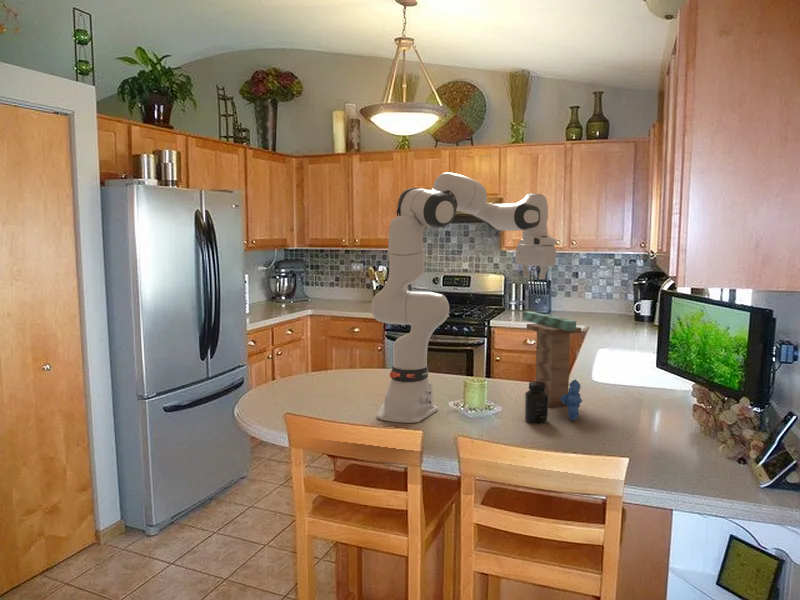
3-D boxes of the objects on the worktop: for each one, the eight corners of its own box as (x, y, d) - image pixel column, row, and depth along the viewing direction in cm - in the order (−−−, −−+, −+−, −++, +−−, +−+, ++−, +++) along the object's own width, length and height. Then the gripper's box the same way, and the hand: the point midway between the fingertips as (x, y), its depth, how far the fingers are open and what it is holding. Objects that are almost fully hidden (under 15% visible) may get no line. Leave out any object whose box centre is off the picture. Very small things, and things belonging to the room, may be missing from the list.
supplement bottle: (520, 418, 185) (521, 381, 184) (539, 416, 187) (540, 379, 186) (532, 425, 179) (533, 386, 177) (552, 423, 181) (553, 384, 180)
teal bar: (523, 319, 216) (523, 311, 216) (530, 319, 217) (530, 311, 217) (568, 330, 192) (568, 321, 192) (576, 330, 193) (576, 321, 193)
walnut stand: (525, 396, 209) (526, 324, 206) (553, 393, 213) (555, 321, 210) (549, 407, 196) (551, 330, 193) (578, 403, 201) (581, 328, 197)
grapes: (561, 411, 192) (562, 375, 191) (582, 413, 190) (583, 377, 189) (557, 422, 181) (558, 384, 180) (580, 425, 179) (581, 386, 178)
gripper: (511, 239, 221) (510, 276, 223) (544, 240, 203) (543, 280, 204) (525, 239, 224) (524, 275, 225) (559, 240, 205) (558, 279, 207)
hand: (533, 278), depth 215 cm, fingers open, 8 cm apart
